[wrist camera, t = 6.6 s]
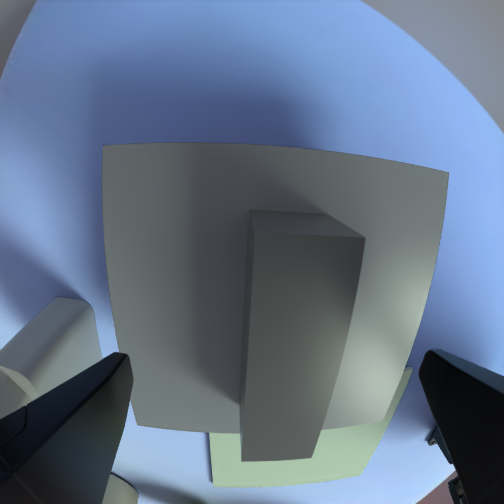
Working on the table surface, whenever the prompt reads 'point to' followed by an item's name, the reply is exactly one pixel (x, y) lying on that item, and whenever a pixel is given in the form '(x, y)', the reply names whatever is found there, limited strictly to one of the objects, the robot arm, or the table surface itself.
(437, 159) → the table surface
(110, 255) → the lid
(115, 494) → the travel mug
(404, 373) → the mat
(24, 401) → the power adapter
